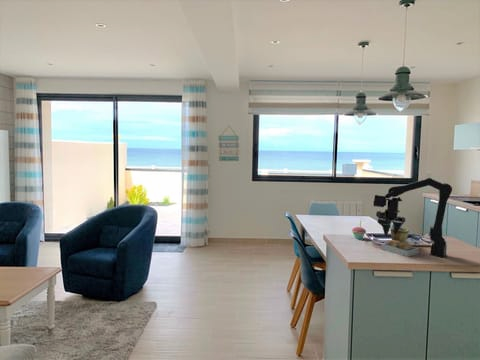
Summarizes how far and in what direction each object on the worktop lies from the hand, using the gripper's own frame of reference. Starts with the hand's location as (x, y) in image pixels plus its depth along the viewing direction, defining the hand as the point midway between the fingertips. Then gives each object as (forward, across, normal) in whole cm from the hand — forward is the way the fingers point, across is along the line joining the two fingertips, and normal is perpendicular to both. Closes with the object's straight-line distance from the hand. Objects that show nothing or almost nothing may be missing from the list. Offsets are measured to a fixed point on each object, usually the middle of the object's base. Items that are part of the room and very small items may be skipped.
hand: (390, 234), depth 193 cm
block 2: (+7, 0, +10) cm, 12 cm away
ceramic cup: (+8, -12, -2) cm, 15 cm away
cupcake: (+9, -5, -25) cm, 26 cm away
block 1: (+7, 0, +3) cm, 8 cm away
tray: (+8, 0, +6) cm, 10 cm away
